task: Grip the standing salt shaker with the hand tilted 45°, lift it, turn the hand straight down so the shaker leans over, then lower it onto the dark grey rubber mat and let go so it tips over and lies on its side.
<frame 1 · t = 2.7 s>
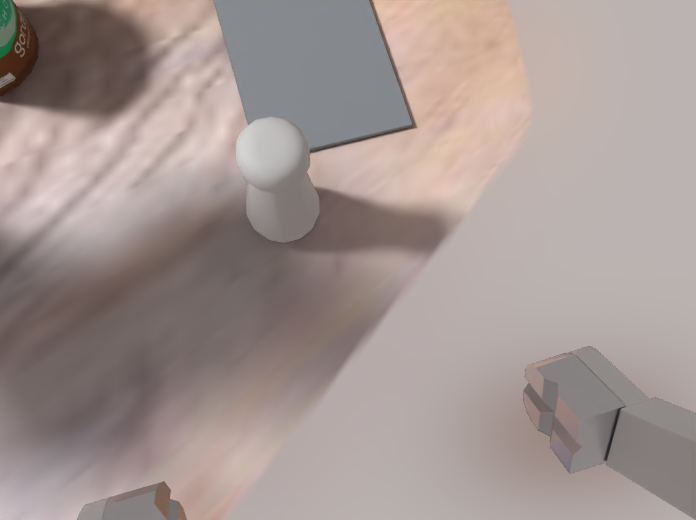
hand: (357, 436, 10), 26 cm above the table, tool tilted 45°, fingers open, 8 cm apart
food container: (16, 45, 39), on the table
mat: (306, 47, 41), on the table
salt shaker: (285, 216, 38), on the table
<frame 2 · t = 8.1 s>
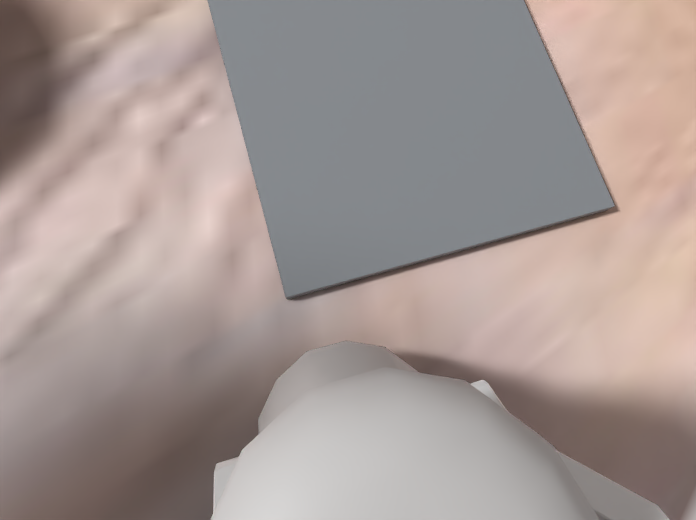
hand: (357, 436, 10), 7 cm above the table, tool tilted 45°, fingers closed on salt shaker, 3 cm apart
mat: (381, 46, 20), on the table
salt shaker: (347, 424, 16), on the table, touching gripper
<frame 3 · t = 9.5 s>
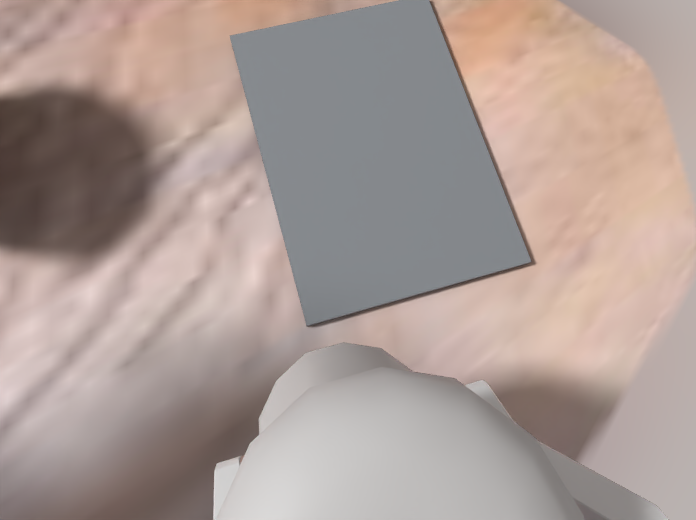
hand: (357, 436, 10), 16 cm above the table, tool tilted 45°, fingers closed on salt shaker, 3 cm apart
mat: (372, 146, 29), on the table
salt shaker: (345, 423, 17), point 8 cm above the table, touching gripper
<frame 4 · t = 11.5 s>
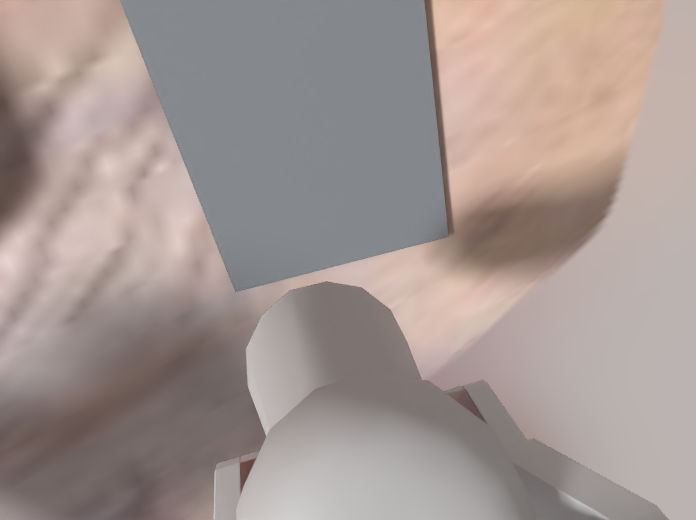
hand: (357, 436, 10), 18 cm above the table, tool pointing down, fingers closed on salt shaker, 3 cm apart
mat: (303, 101, 24), on the table
salt shaker: (323, 346, 18), point 10 cm above the table, touching gripper
when the fingers open (8 cm above the table, at t = 15.3 s): salt shaker moves 3 cm, resting on mat.
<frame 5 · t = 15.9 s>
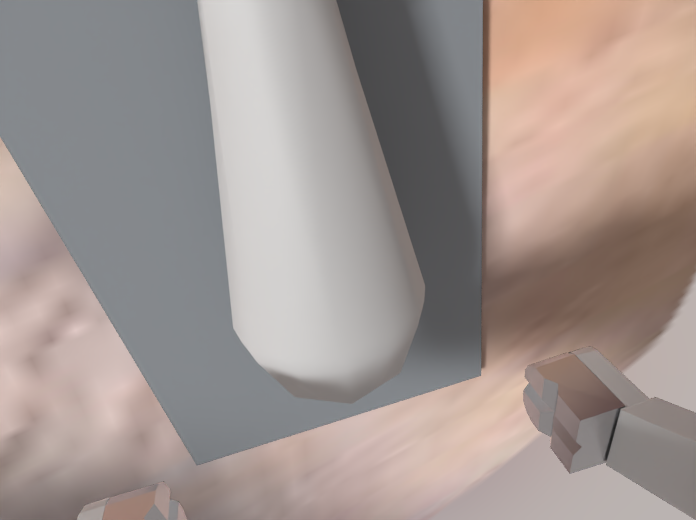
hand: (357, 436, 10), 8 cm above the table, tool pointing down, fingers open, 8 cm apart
mat: (295, 232, 16), on the table
salt shaker: (342, 361, 15), point 4 cm above the table, touching mat
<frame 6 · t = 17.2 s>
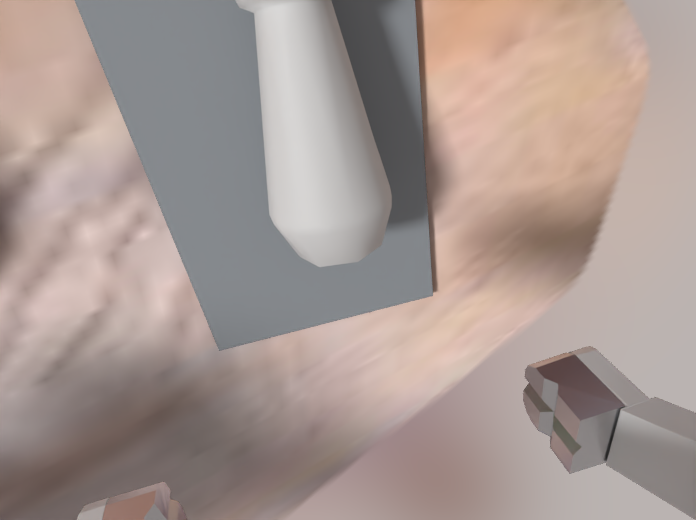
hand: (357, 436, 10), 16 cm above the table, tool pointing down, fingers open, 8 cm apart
mat: (294, 171, 23), on the table
salt shaker: (340, 250, 22), point 4 cm above the table, touching mat
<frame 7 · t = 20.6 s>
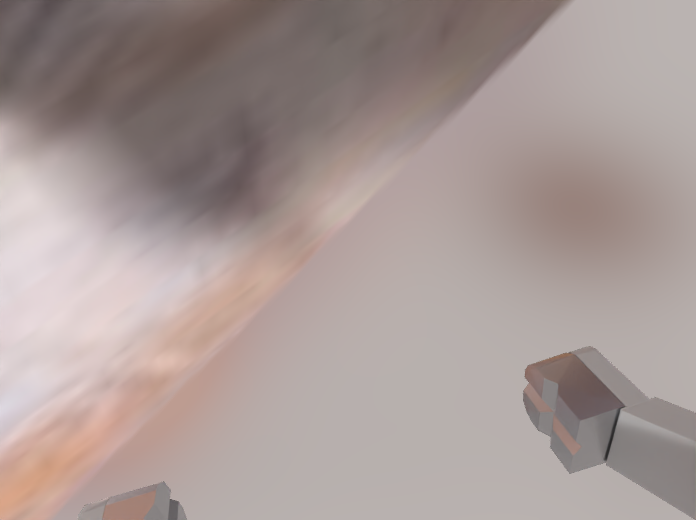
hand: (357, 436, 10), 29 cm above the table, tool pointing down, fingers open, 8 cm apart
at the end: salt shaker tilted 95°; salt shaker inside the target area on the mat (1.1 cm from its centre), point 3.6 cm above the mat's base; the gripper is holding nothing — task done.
